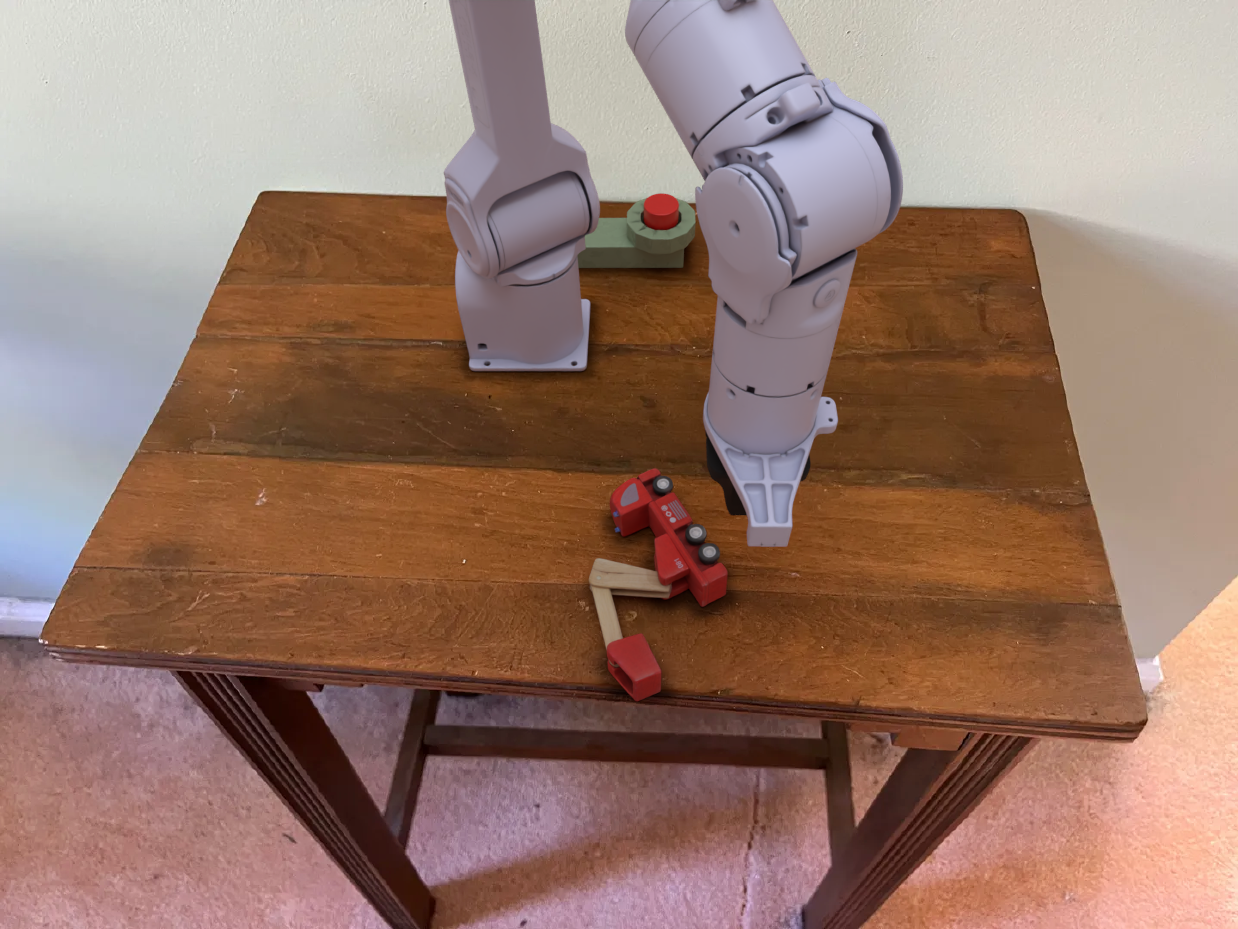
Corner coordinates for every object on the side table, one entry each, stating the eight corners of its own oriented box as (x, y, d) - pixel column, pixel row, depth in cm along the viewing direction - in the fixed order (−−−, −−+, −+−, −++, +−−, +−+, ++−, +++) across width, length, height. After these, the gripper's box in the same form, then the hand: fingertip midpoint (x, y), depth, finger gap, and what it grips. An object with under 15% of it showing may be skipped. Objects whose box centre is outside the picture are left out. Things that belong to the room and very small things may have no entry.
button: (643, 231, 74) (643, 215, 73) (643, 209, 76) (643, 192, 75) (678, 231, 74) (679, 214, 73) (678, 209, 76) (678, 192, 74)
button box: (570, 275, 76) (566, 239, 73) (573, 232, 80) (570, 195, 77) (694, 275, 76) (696, 238, 73) (692, 231, 80) (694, 195, 76)
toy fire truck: (658, 458, 60) (531, 515, 58) (767, 616, 53) (627, 688, 50) (658, 485, 63) (537, 541, 61) (762, 639, 56) (629, 709, 53)
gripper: (875, 474, 38) (823, 613, 49) (834, 255, 47) (798, 415, 58) (714, 473, 38) (699, 612, 49) (703, 255, 47) (692, 414, 58)
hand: (745, 506), depth 53 cm, fingers closed
